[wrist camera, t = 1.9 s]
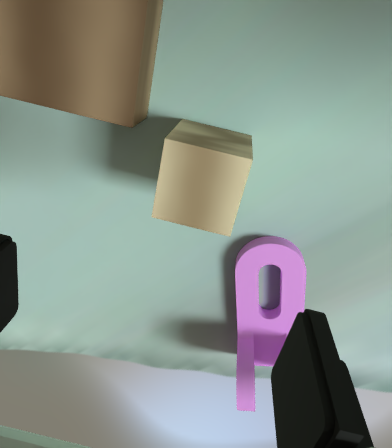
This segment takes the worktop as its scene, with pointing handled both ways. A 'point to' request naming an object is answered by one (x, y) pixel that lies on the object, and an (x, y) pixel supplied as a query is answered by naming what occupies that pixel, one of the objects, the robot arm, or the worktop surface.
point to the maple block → (202, 176)
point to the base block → (81, 55)
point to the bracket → (261, 318)
